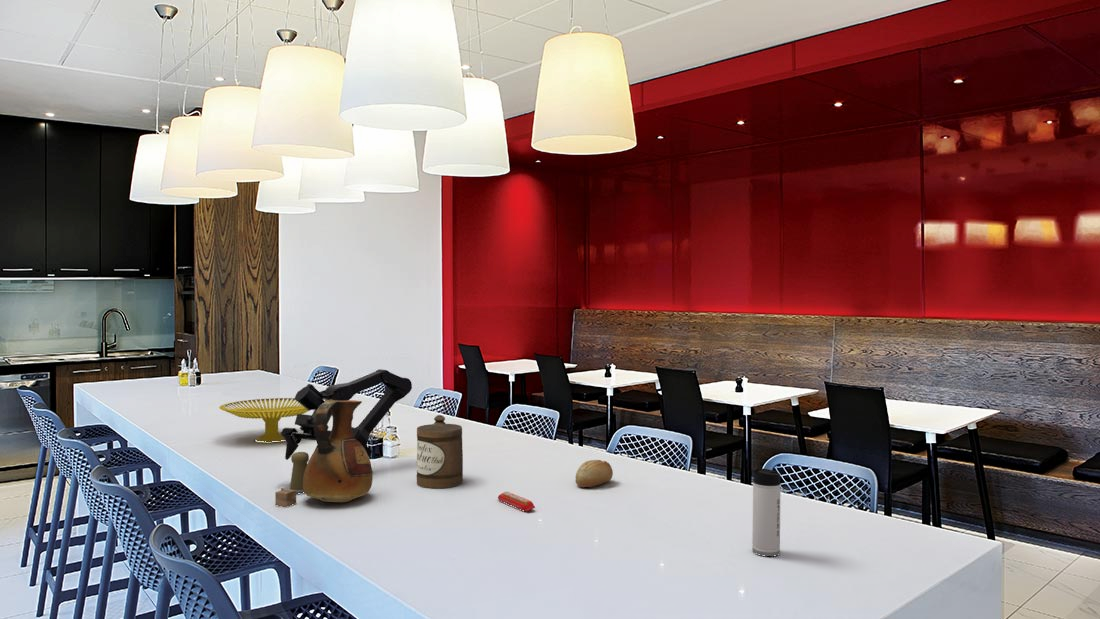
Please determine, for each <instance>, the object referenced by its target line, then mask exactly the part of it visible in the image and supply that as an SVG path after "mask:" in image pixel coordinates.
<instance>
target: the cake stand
mask: <svg viewBox="0 0 1100 619" xmlns="http://www.w3.org/2000/svg"><path fill="white" fill-rule="evenodd" d="M253 403H254V404H253ZM262 405H263V406H262ZM218 408H219V409H220V410H221V411H225V412H226V413H229V414H231V415H234V416H236V417H238V418H243V419H262V420H263V422H264V428H265V429H264V430H265V431H264V434H262V435H260V436H259V437H256V438H255V439H256V440H257V441H264V442H265V441H266V442H272V441H281V440H285V439H284V438H283V437H282V435H281V433H279V421H280V420H281V419H282V418H290V417H297V414H304V415H305V414H306V413H307V412H309V411H308V410H307V409H306V408H305V407H303V406H302V405H301V404H300V403H299V402H297V401H296V400H295V397H278V398H277V397H273V398H258V399H257V398H255V399H245V400H239V401H234V402H232V401H231V402H227V403H224V404H221V405H220V406H219V407H218Z"/></svg>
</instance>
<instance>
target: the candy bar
mask: <svg viewBox="0 0 1100 619" xmlns="http://www.w3.org/2000/svg"><path fill="white" fill-rule="evenodd" d="M497 500H498V501H499V500H500V501H502V502H505V503H507V504H509V505H512V506H514V507H516V508H518V509H521V510H524V511H528V512H530V511H532V510H533V509H535V508H536V507H535V504H534V503H533V501H531V500H529V499H527V498H525V497H522V496H520V495H517V494H515V493H513V492H511V491H510V492H509V491H504V492H502V493H500V494H498V496H497ZM500 501H499V502H500ZM502 502H501V503H502ZM509 505H508V506H509ZM516 508H515V509H516ZM518 509H517V510H518ZM529 510H530V511H529Z"/></svg>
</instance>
